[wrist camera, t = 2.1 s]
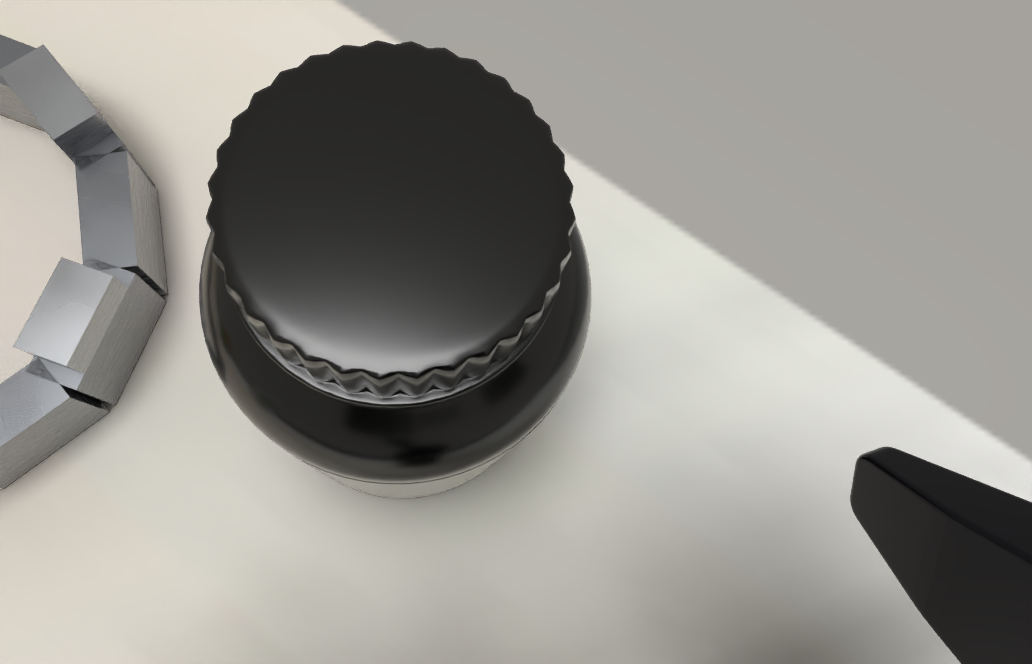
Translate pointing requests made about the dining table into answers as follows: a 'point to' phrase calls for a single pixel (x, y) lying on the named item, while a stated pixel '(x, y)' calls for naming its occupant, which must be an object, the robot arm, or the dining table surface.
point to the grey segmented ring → (79, 271)
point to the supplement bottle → (393, 267)
